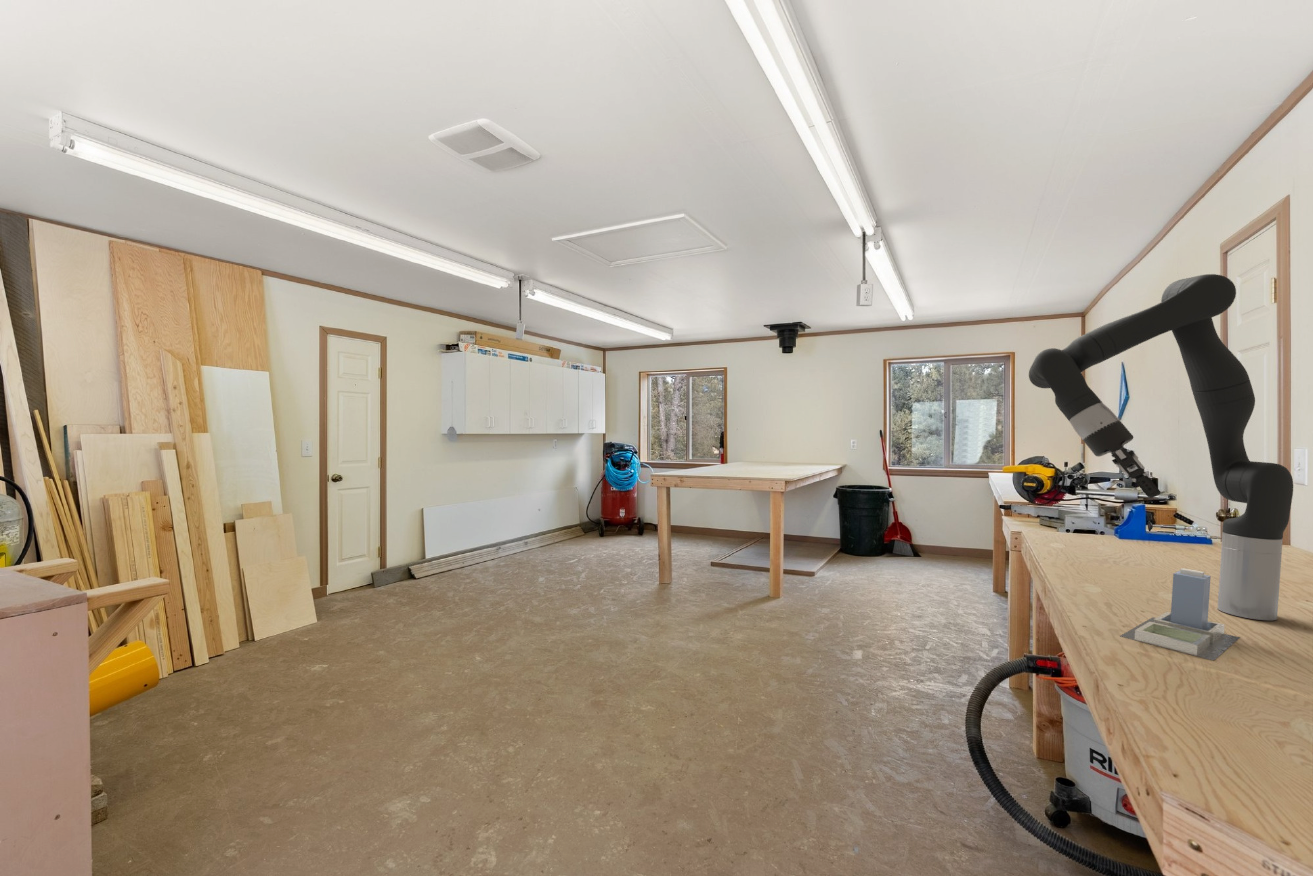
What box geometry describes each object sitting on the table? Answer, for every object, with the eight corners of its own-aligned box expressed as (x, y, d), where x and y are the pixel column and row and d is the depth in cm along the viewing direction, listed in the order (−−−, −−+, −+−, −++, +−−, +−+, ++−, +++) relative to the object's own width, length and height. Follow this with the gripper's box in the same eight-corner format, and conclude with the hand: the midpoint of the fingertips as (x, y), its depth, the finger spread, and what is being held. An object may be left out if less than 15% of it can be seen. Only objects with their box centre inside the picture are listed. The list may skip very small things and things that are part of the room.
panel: (1152, 620, 122) (1153, 608, 122) (1240, 640, 111) (1240, 627, 111) (1119, 639, 110) (1120, 626, 110) (1213, 664, 100) (1214, 650, 99)
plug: (1176, 625, 117) (1180, 566, 117) (1206, 632, 113) (1210, 571, 113) (1169, 629, 114) (1173, 569, 114) (1200, 637, 111) (1204, 574, 110)
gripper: (1116, 415, 118) (1176, 485, 111) (1120, 422, 128) (1176, 487, 122) (1078, 436, 122) (1134, 505, 115) (1085, 441, 132) (1137, 505, 125)
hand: (1155, 495), depth 118 cm, fingers open, 8 cm apart
